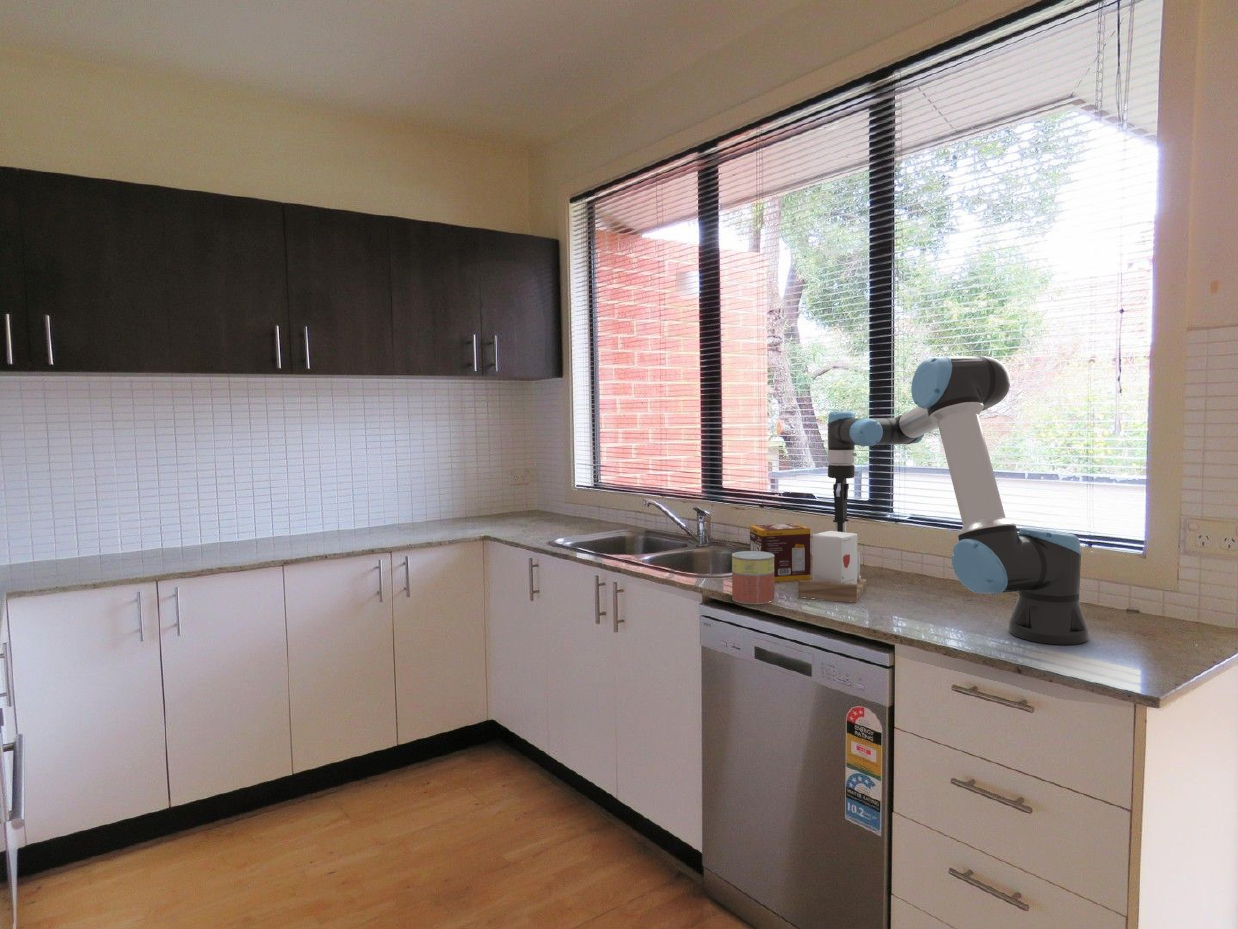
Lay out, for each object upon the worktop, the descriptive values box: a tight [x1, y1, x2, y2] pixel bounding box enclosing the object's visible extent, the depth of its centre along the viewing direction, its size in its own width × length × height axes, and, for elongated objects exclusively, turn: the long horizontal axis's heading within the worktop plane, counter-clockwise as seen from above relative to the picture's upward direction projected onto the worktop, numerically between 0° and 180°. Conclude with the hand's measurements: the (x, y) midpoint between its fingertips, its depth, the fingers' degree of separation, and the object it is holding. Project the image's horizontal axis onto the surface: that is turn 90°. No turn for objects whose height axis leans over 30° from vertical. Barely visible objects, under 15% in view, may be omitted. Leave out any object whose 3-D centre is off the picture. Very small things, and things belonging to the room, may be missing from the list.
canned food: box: [731, 550, 775, 605], centre depth 203 cm, size 11×11×12 cm
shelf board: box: [797, 575, 867, 603], centre depth 210 cm, size 22×15×4 cm
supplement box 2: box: [812, 530, 858, 584], centre depth 207 cm, size 9×9×15 cm
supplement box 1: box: [749, 522, 812, 583], centre depth 228 cm, size 10×15×16 cm
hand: (840, 543), depth 223 cm, fingers closed
